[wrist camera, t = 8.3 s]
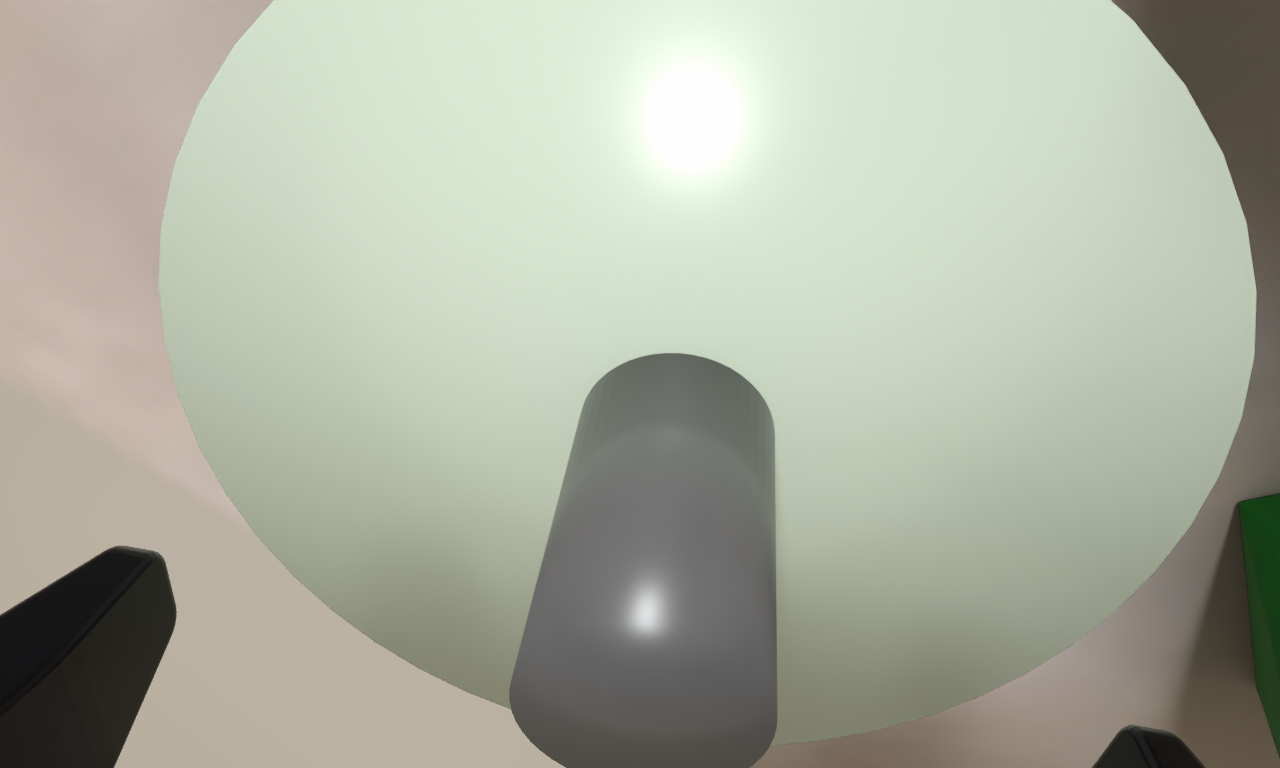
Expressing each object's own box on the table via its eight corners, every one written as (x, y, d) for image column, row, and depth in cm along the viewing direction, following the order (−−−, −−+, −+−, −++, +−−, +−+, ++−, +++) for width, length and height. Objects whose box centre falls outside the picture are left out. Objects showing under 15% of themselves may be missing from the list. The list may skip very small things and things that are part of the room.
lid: (1499, -40, 11) (2093, 175, 6) (992, 762, 20) (1062, 1097, 15) (101, -285, 11) (-433, -269, 6) (246, 627, 20) (82, 919, 15)
